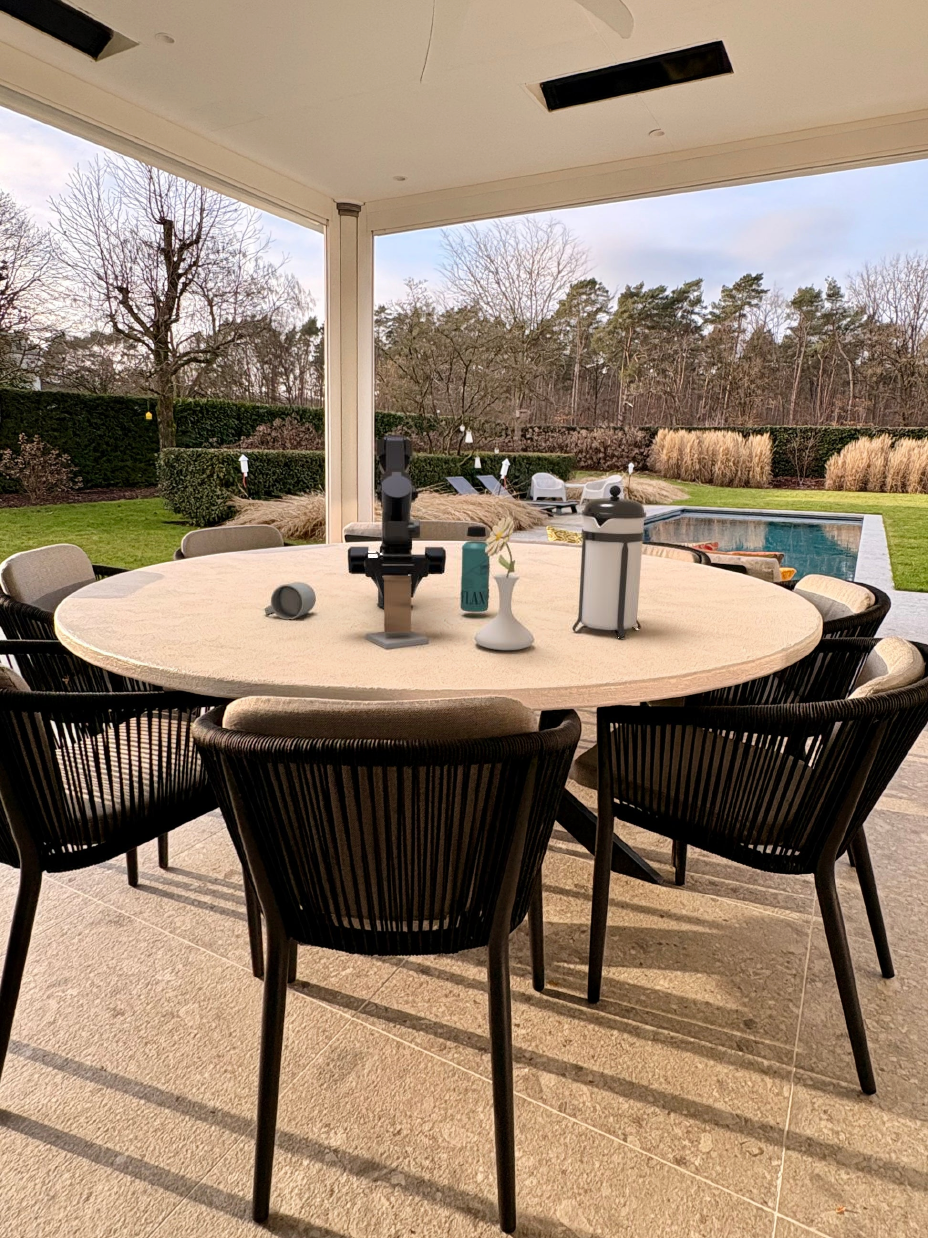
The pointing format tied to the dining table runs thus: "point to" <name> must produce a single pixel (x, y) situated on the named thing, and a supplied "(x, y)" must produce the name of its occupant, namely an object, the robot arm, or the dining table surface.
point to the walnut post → (397, 603)
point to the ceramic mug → (291, 600)
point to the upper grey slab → (396, 639)
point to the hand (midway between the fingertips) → (397, 596)
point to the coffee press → (610, 563)
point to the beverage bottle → (475, 573)
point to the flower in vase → (503, 599)
